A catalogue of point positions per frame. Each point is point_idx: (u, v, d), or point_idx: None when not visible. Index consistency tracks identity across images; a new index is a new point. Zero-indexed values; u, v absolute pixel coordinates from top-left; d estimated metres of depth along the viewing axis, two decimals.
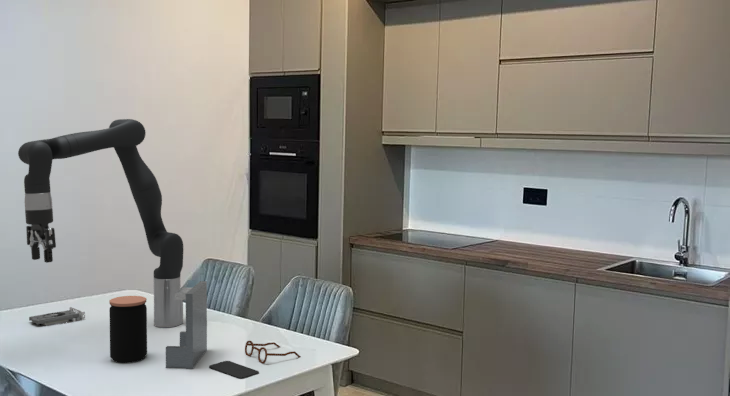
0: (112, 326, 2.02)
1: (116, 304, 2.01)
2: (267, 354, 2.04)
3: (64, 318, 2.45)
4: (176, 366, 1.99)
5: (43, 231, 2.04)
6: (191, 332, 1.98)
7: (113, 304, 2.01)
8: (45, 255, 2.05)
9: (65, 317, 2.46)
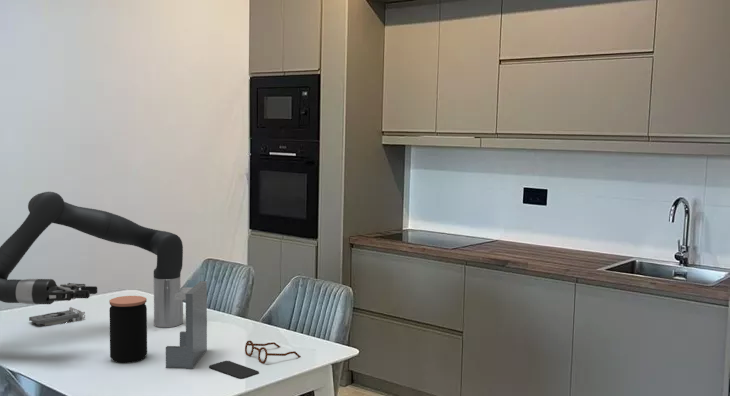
0: (112, 326, 2.02)
1: (116, 304, 2.01)
2: (267, 354, 2.04)
3: (64, 318, 2.45)
4: (176, 366, 1.99)
5: None
6: (191, 332, 1.98)
7: (113, 304, 2.01)
8: (81, 297, 2.02)
9: (65, 317, 2.46)
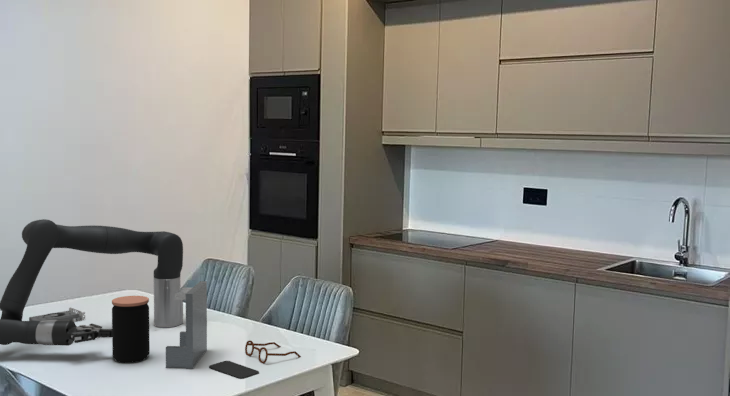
0: (114, 326, 2.02)
1: (118, 304, 2.01)
2: (267, 354, 2.04)
3: (64, 318, 2.45)
4: (176, 366, 1.99)
5: None
6: (191, 332, 1.98)
7: (115, 304, 2.01)
8: (105, 336, 2.06)
9: (65, 317, 2.45)
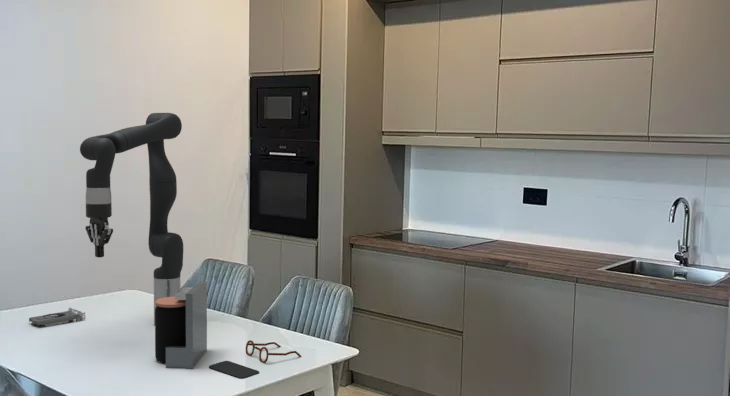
0: (158, 327, 2.02)
1: (162, 305, 2.01)
2: (268, 354, 2.04)
3: (65, 319, 2.44)
4: (176, 366, 1.99)
5: (102, 226, 2.11)
6: (191, 332, 1.98)
7: (159, 305, 2.01)
8: (97, 250, 2.14)
9: (66, 318, 2.45)
